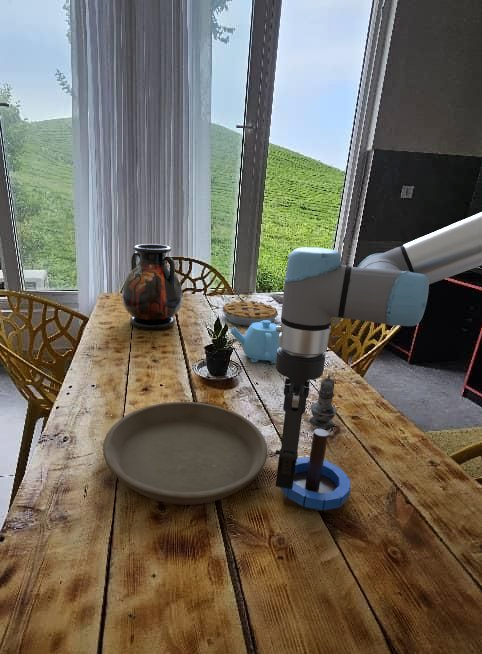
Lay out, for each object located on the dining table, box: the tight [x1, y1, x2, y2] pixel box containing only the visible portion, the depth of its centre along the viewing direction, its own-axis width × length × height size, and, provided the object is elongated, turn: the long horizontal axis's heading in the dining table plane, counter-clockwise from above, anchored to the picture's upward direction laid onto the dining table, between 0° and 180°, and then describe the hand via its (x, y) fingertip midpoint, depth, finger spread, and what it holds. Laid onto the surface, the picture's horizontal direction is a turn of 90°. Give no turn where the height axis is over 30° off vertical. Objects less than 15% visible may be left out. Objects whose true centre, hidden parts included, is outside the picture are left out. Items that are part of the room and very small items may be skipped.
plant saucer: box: [102, 401, 268, 506], centre depth 85 cm, size 31×31×5 cm
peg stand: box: [283, 428, 341, 516], centre depth 76 cm, size 9×9×12 cm
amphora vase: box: [121, 243, 183, 331], centre depth 157 cm, size 22×22×28 cm
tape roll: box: [280, 456, 352, 510], centre depth 78 cm, size 12×12×2 cm
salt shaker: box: [309, 374, 338, 430], centre depth 99 cm, size 6×6×12 cm
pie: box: [221, 300, 279, 327], centre depth 173 cm, size 22×22×5 cm
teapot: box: [229, 320, 281, 364], centre depth 135 cm, size 20×17×12 cm
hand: (286, 464), depth 78 cm, fingers open, 12 cm apart
